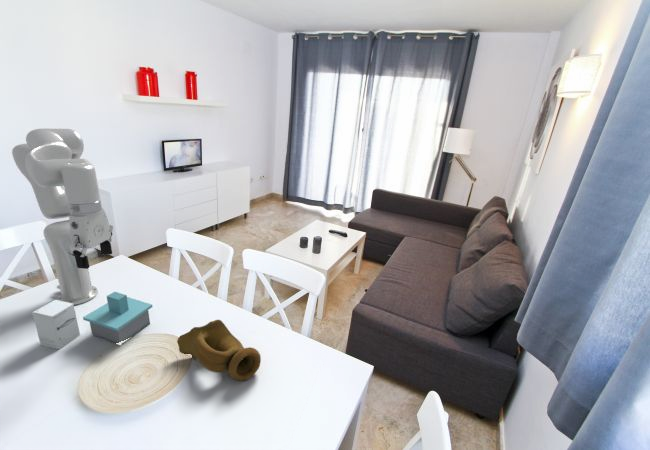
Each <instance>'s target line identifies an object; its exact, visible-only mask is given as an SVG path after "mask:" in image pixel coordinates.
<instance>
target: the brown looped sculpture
mask: <svg viewBox="0 0 650 450" xmlns="http://www.w3.org/2000/svg"><path fill="white" fill-rule="evenodd" d="M176 343H177V346H178V349H179V352H180V353H181V354H184V355H185V354H191V355H192V358H193V360H197V362H198V363H200V364H201V365H202V366H203V367H204V368H205V369H206V370H208V371H210V372H214V373H224V372H227V371H228V373H229V376H230V377H231V378H233V379H234V380H236V381H248V380H249V379H251V378H252V377H253V376H254V375H255V374H256V373H257V371H258V370H259V368H260V366H261V359H262V358H261V354H260V352H259V351H258V350H257V348H254V347H250V346H249V347H244V346H243V344H242V342H241V341H240V340H239V339H238V338H237V337H236V336H234V335H233V333H232V332H231V331H230V330H229V329H228V327H227V326H226V323H224V322H223V321H222V320H221V319H215V320H212V321H208V323H206V324H204V325H202V326H195V327H193V328H191V329H190V330H189V331H187V332H186V333H184V334H181V335H180V336H179V337H177V342H176ZM192 358H191V359H192Z"/></svg>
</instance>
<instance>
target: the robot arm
mask: <svg viewBox="0 0 650 450" xmlns="http://www.w3.org/2000/svg"><path fill="white" fill-rule="evenodd" d="M84 147H85V144H84V140H83V138H82V136H81V135H80V133H78V131H76V130H74V129H71V128H35V129H32V130H30V131H29V132H28V133H26V136H25V143H21V144H17V145H15V146H13V148H12V151H11V154H12V158H13V161H14V164H15V165H16V167H17V169H18V171H20V173H21V174H22V175H23V177H25V178H26V180H27V181H28V182H29V183H30V186H31V188H32V190H33V193H34V196H35V199H36V202H37V204H38V207H39V210H40V212H41V214H42V216H43V217H44V218H46V219H48V220H57V219H65V218H68V219H66V220H61V221H55V222H51V223H50V224H48V225H46V226H45V227H44V229H43V237H44V240H45V242H46V244H47V246H48V248H49V250H50V254H51V256H52V259H53V264H54V267H55V273H56V276H57V280H58V284H59V285H57V286H56V288H57V289H58V290H60V294H59V295H58V296H57V298H56V300H59V301H64V302H68V303H73V304H74V306H75V305H80V304H83V303H87V302H89V301H90V300H92V299H94V298H96V296H97V295H98V293H99V291H98V287H96V286H94V285H92V281H91V276H90V271H89V269H90V264H89V262H90V261H89V257H88V255H86V253H87V252H88V251H87V250H88V249H94V248H95V247H97V246H98V245H99V248H100V254H102V255H103V254H104V255H112V254H113V248H112V243H111V242H112V240H113V239H112V236H113V230H114V229H113V228H114V227H113V225H112V224H110V223H109V219H108V216H107V214H106V211H105V209H104V207H102V202H101V196H100V189H99V185H98V183H99V182H98V178H97V173H96V168H95V166H94V164H92V163H91V162H90V160H88V159H85V158H81V157H82V155H83V152H84V149H85V148H84Z"/></svg>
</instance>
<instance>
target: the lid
mask: <svg viewBox="0 0 650 450" xmlns="http://www.w3.org/2000/svg"><path fill="white" fill-rule="evenodd" d="M106 301H107V303H105V304H103V305H102V306H100V307H98V308H97V309H95V310H93V311H91V312H90V313H87V314H86V315H84V316H82V320H83V321H86V322H89V323H90V322H91V323H94V324H97V325H100V326H103V327H106V328H109V329H112V330H115V331H118V330H120V329H121V328H123V327H124V326H126V325H127V324H129V323H130V322H131V321H133V320H134V319H136V318H137V317H139V316H140V315H142V314H143V313H145V312H146V311H147V310H148V311H149V310H151V309H152V308H153V304H152V303H150V302H149V303H148V302H145V301H141V300H139V299H135V298H132V297H128V296H127V294H124V293H121V292H117V291H113V292H112V293H110V294H108V295H106Z"/></svg>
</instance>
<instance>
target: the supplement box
mask: <svg viewBox="0 0 650 450" xmlns="http://www.w3.org/2000/svg"><path fill="white" fill-rule="evenodd" d="M31 314H32V318H33V321H34V326H35V328H36V332H37V336H38V339H39V343H40V346H41V345H42V346H45V347H49V348H52V349H56V350H61V349H62V348H63V347H64V346H66V345H68V343H70V342H71V341H73V340H74V339H76V338H77V337H79V336H80V335H81V332H80V328H79V323H78V318H77V314H76V309H75V305H74V304H73V303H68V302H64V301H59V300H57V299H55V300H52V301H50V302H49V303H46V304H45V305H43V306H41V307H39V308H37V309H36V310H34V311H32V312H31Z"/></svg>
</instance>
